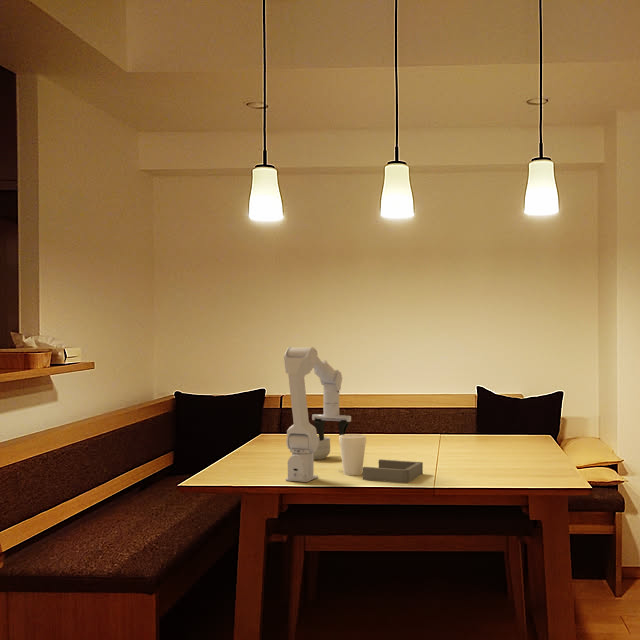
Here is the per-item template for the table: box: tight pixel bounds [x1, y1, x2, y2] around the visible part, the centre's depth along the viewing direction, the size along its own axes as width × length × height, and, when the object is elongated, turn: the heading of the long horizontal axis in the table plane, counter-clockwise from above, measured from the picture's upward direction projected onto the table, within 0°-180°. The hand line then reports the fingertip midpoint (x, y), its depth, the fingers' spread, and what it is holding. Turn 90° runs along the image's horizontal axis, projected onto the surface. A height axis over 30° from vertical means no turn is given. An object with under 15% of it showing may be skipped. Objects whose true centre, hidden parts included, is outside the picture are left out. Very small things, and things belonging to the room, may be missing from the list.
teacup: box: [313, 435, 331, 461], centre depth 318 cm, size 14×11×8 cm
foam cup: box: [338, 433, 367, 476], centre depth 285 cm, size 10×9×13 cm
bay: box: [362, 459, 424, 484], centre depth 279 cm, size 17×16×4 cm
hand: (331, 440), depth 297 cm, fingers open, 7 cm apart
